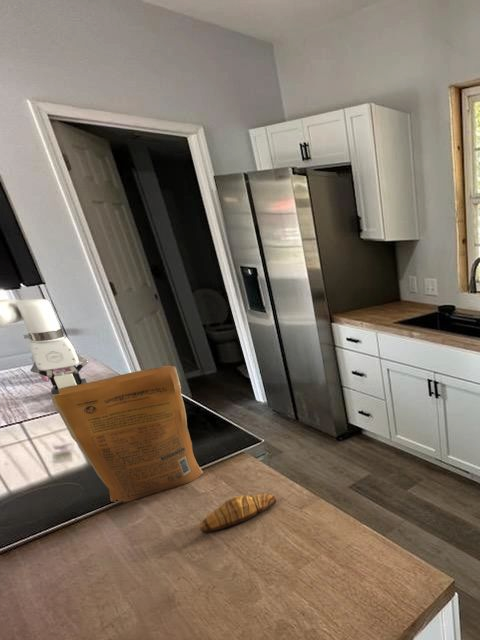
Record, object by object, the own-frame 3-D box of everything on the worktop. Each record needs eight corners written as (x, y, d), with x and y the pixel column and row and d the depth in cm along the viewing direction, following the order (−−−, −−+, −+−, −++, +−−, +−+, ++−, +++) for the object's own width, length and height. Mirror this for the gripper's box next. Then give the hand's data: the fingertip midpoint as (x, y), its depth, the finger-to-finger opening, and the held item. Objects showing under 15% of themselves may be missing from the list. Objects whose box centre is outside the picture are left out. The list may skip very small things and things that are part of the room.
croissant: (205, 543, 77) (197, 522, 75) (198, 526, 81) (190, 505, 80) (282, 510, 86) (277, 490, 84) (272, 496, 90) (267, 477, 88)
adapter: (54, 398, 143) (50, 390, 142) (57, 391, 150) (54, 383, 148) (86, 392, 148) (83, 385, 147) (88, 385, 154) (85, 378, 153)
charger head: (59, 391, 144) (52, 374, 142) (61, 386, 149) (54, 370, 146) (77, 387, 147) (70, 371, 145) (78, 383, 151) (72, 367, 149)
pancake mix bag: (212, 479, 97) (175, 367, 86) (102, 514, 85) (45, 390, 75) (208, 467, 101) (173, 359, 91) (103, 499, 90) (50, 380, 80)
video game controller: (78, 376, 168) (69, 361, 167) (79, 373, 165) (70, 357, 165) (43, 384, 160) (34, 368, 159) (44, 381, 157) (35, 364, 157)
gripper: (8, 342, 133) (32, 394, 140) (80, 333, 144) (99, 382, 150) (12, 337, 138) (35, 388, 145) (82, 329, 149) (100, 376, 155)
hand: (68, 384), depth 148 cm, fingers closed on charger head, 4 cm apart
